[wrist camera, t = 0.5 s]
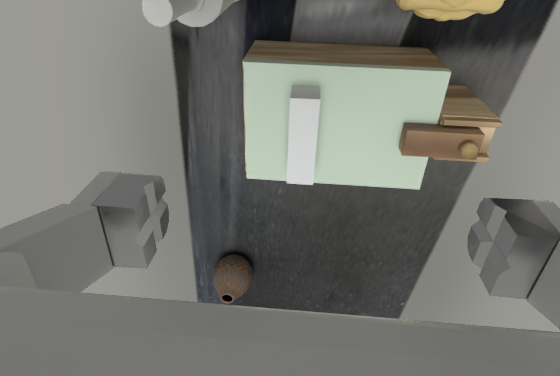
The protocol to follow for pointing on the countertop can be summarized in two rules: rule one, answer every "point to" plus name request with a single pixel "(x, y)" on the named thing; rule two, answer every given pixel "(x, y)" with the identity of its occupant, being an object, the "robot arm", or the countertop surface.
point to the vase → (232, 277)
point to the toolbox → (458, 99)
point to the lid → (337, 121)
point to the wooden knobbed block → (441, 141)
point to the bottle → (184, 11)
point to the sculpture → (449, 8)
